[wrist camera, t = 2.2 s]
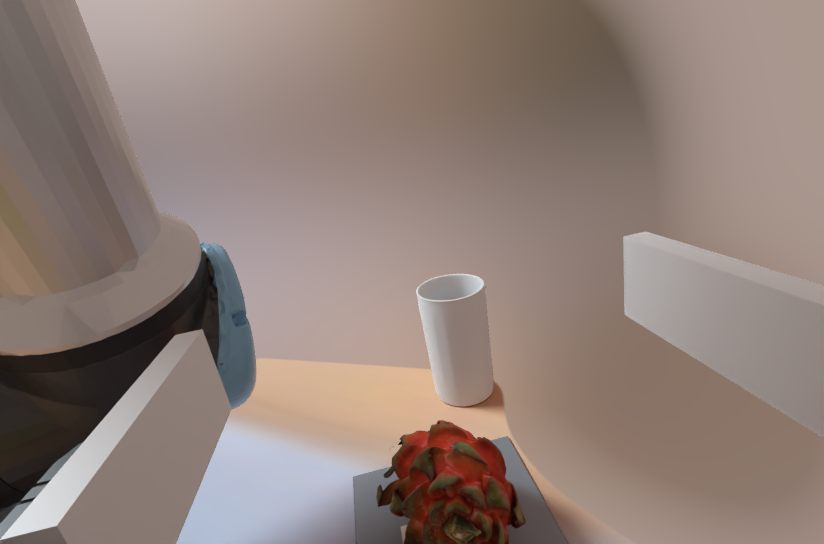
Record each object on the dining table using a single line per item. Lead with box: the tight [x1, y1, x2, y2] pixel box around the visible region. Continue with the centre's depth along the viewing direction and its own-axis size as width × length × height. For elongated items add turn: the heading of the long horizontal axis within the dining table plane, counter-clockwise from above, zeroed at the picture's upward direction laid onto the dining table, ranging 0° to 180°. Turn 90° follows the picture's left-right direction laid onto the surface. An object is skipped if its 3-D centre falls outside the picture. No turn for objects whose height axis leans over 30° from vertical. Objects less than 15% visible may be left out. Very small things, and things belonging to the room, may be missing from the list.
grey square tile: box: [353, 436, 568, 544], centre depth 31 cm, size 14×14×1 cm
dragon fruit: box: [376, 420, 526, 544], centre depth 30 cm, size 8×8×12 cm
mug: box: [416, 274, 494, 406], centre depth 45 cm, size 10×7×12 cm, turn 27°
